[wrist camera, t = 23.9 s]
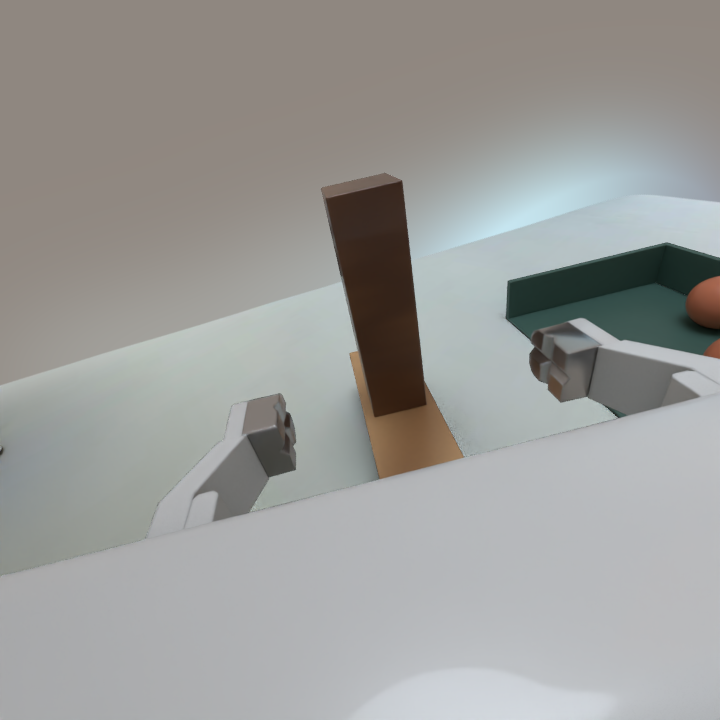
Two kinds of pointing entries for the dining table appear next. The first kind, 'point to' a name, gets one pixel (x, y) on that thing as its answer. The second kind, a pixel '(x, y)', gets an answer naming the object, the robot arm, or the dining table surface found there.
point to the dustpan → (621, 297)
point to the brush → (386, 325)
